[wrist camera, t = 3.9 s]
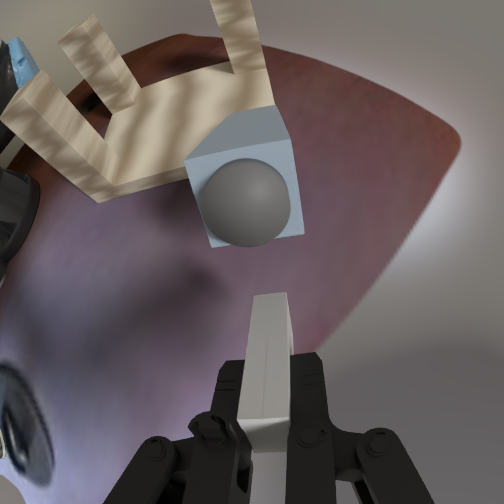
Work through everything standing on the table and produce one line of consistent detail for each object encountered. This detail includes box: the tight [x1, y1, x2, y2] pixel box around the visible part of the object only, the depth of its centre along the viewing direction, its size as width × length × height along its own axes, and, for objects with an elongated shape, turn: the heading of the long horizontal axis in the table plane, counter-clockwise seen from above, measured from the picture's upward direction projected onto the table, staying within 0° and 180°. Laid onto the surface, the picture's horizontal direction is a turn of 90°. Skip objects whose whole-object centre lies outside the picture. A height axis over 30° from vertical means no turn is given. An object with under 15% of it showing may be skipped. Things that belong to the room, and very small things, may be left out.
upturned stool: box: [0, 0, 275, 203], centre depth 23 cm, size 22×18×17 cm
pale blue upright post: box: [184, 105, 305, 248], centre depth 16 cm, size 4×4×16 cm
